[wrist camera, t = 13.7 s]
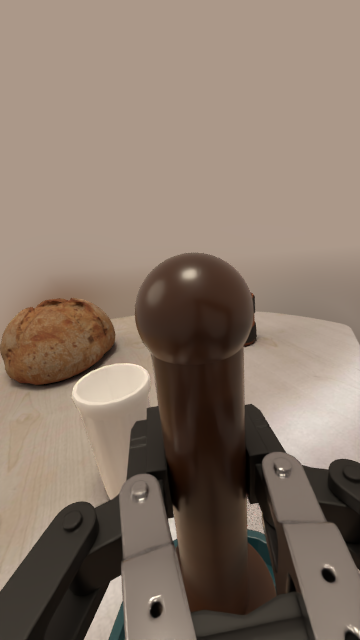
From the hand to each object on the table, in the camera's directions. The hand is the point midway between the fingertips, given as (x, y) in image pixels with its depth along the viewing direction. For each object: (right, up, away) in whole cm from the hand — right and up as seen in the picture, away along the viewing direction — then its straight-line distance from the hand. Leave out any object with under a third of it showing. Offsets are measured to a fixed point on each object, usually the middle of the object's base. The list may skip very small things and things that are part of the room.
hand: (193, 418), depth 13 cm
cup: (-6, -15, +21) cm, 26 cm away
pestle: (+1, -9, 0) cm, 9 cm away
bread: (-29, -6, +56) cm, 63 cm away
